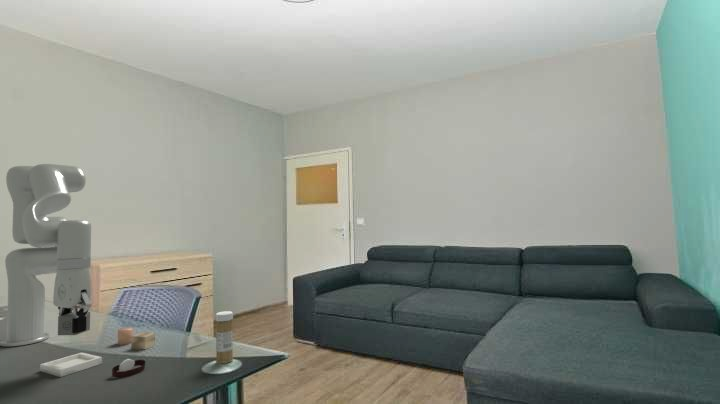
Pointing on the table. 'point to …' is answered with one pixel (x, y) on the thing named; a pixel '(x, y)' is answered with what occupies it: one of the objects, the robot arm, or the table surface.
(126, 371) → the watch
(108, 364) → the table surface
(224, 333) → the sprinkles bottle
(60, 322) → the grey marked block
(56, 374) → the dish
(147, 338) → the oak block
